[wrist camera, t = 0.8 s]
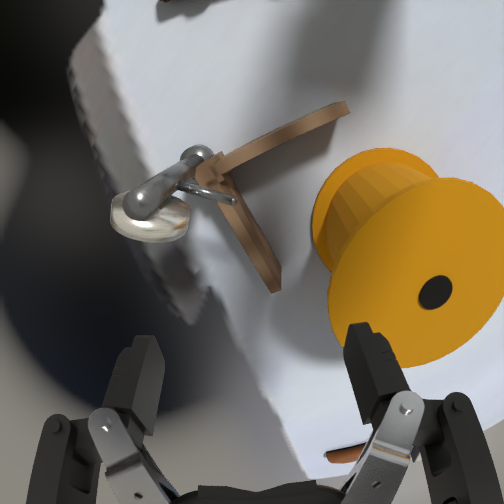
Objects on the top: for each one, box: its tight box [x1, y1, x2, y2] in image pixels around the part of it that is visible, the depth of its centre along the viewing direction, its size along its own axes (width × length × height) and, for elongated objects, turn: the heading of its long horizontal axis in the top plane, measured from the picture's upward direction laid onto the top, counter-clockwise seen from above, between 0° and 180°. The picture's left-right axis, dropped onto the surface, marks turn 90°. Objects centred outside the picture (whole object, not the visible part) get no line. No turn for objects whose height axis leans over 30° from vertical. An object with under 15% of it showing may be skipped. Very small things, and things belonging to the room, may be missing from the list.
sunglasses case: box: [327, 444, 366, 463], centre depth 58 cm, size 18×7×7 cm
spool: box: [312, 148, 504, 368], centre depth 26 cm, size 18×18×15 cm
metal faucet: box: [111, 145, 238, 243], centre depth 25 cm, size 9×4×16 cm, turn 73°
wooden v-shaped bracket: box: [194, 101, 350, 294], centre depth 30 cm, size 12×22×5 cm, turn 164°
